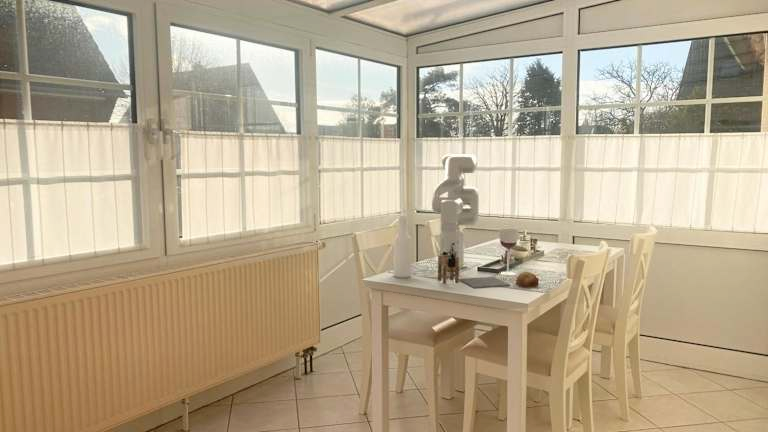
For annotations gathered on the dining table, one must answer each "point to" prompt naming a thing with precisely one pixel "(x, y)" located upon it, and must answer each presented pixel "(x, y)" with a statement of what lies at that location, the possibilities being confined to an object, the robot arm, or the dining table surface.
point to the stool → (444, 262)
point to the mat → (484, 282)
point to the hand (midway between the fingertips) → (448, 265)
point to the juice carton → (456, 255)
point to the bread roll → (527, 280)
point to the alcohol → (402, 250)
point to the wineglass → (508, 243)
